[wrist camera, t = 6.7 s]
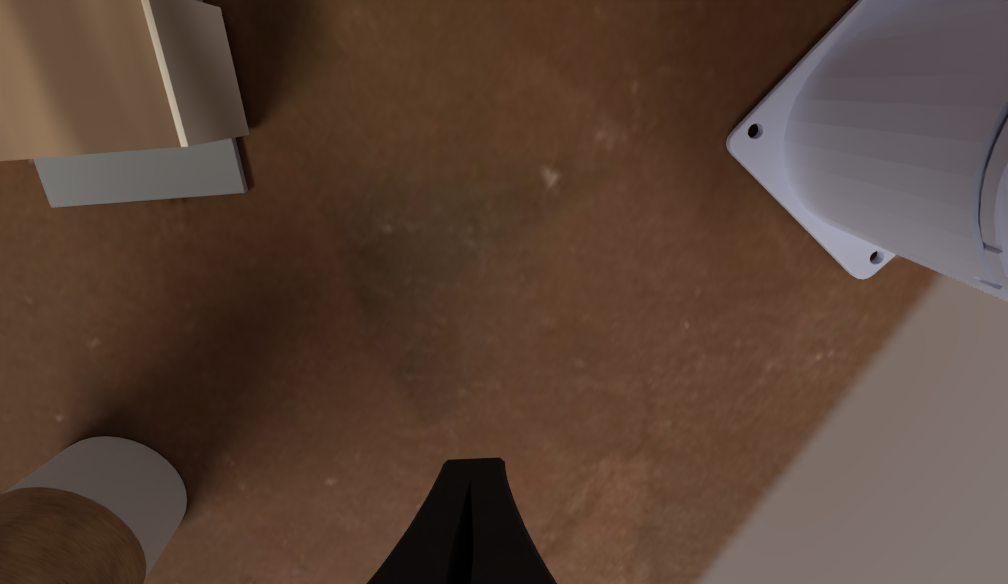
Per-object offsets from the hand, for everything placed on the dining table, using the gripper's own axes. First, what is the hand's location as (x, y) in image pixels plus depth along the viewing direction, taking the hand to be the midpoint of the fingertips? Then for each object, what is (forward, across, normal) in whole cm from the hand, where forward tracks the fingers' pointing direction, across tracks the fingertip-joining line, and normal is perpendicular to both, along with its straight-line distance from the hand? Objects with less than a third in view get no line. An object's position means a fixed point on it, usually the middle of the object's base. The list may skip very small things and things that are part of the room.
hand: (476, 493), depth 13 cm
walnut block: (+8, +8, -10) cm, 15 cm away
